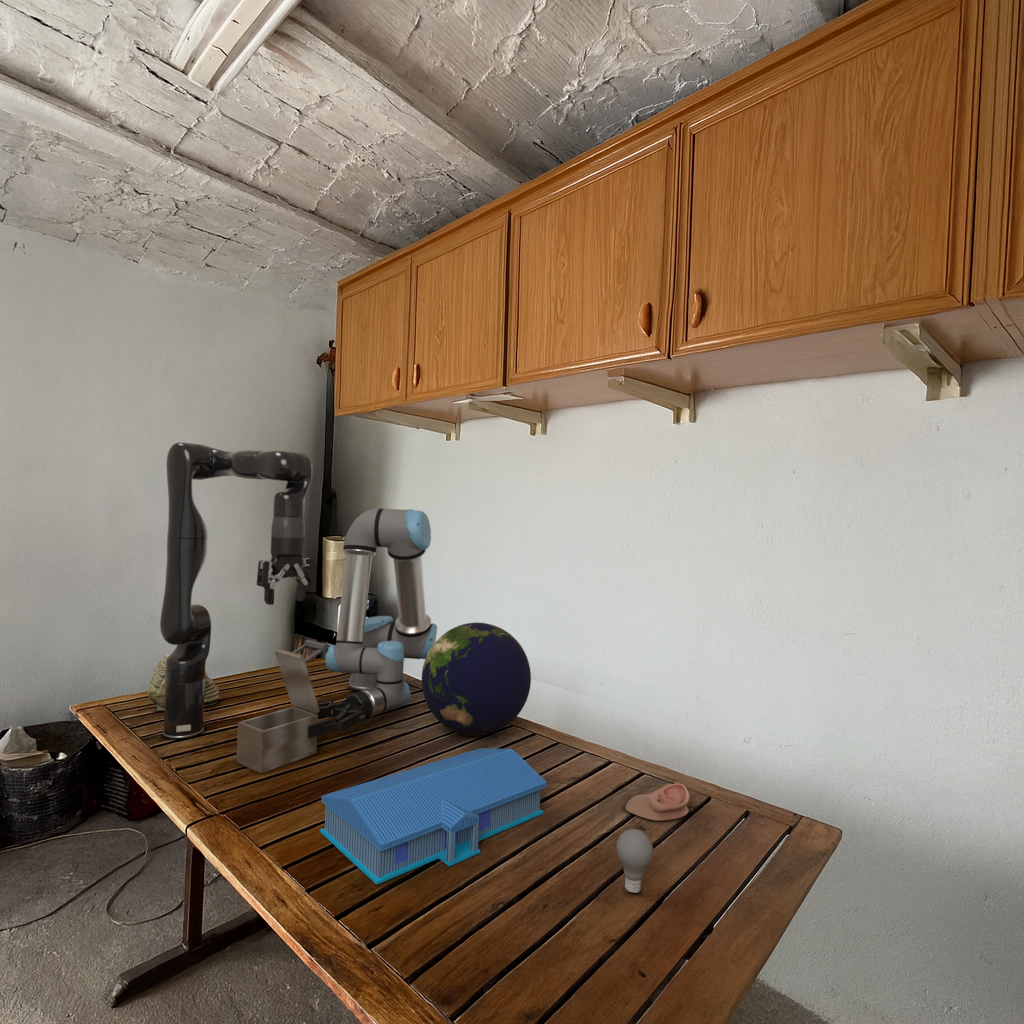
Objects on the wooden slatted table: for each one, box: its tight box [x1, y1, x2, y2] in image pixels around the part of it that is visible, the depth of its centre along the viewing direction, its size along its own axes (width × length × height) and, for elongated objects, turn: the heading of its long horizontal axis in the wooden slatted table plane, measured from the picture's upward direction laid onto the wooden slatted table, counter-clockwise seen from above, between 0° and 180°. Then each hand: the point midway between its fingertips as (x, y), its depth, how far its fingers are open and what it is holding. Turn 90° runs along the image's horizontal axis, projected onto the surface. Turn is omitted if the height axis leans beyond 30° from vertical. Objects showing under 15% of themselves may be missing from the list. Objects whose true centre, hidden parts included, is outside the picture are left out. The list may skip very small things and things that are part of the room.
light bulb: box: [615, 828, 654, 894], centre depth 106 cm, size 6×6×10 cm
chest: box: [236, 705, 319, 775], centre depth 152 cm, size 15×10×10 cm, turn 146°
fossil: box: [147, 654, 221, 712], centre depth 185 cm, size 9×18×15 cm, turn 132°
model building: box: [319, 747, 548, 885], centre depth 124 cm, size 39×24×10 cm, turn 132°
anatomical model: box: [624, 783, 691, 822], centre depth 135 cm, size 13×4×12 cm
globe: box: [421, 621, 532, 737], centre depth 174 cm, size 30×30×30 cm
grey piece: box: [274, 639, 330, 714], centre depth 159 cm, size 16×10×9 cm
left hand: (285, 602), depth 152 cm, fingers open, 8 cm apart
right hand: (295, 726), depth 156 cm, fingers closed on chest, 10 cm apart
